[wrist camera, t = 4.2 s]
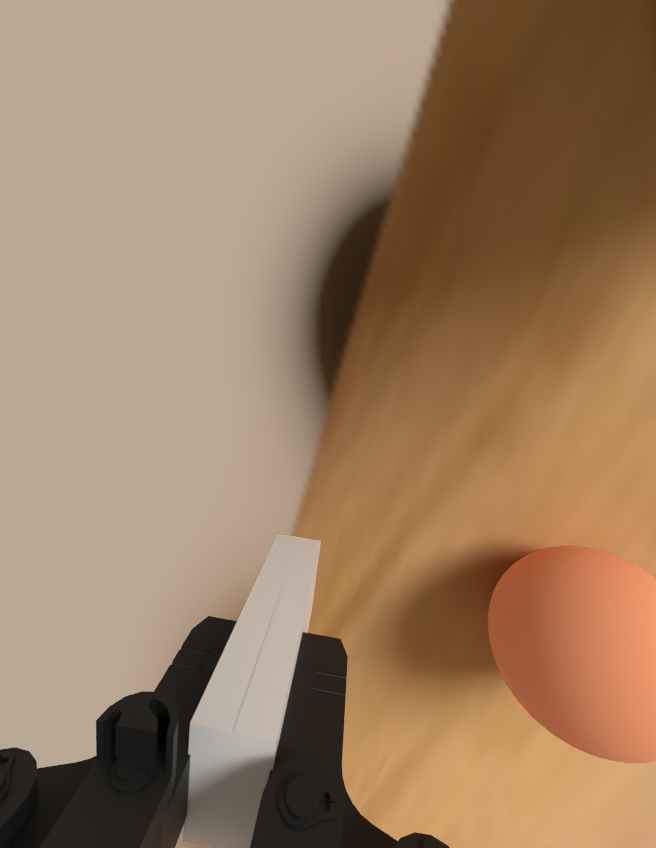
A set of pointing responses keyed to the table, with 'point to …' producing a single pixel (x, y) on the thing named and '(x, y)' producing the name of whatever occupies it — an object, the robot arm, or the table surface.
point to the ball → (580, 648)
